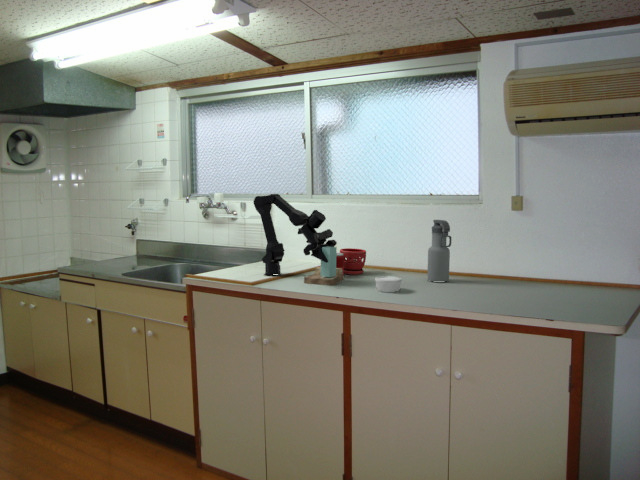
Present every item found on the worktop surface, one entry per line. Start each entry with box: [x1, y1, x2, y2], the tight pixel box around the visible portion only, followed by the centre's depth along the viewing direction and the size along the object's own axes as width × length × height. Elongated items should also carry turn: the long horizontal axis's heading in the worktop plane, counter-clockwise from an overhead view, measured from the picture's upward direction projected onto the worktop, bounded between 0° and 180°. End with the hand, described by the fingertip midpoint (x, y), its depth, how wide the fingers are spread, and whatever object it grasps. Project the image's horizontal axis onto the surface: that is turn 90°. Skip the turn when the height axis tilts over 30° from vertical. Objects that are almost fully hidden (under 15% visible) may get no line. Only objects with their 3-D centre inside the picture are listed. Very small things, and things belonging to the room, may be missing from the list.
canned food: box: [336, 252, 344, 275], centre depth 257 cm, size 8×8×11 cm
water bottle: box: [426, 219, 452, 282], centre depth 245 cm, size 10×10×28 cm
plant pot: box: [339, 247, 367, 276], centre depth 265 cm, size 13×13×12 cm
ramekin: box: [374, 275, 402, 293], centre depth 225 cm, size 11×11×5 cm
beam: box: [314, 266, 342, 276], centre depth 249 cm, size 12×4×3 cm, turn 68°
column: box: [320, 246, 338, 277], centre depth 240 cm, size 5×5×13 cm
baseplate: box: [303, 272, 345, 286], centre depth 244 cm, size 14×14×3 cm
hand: (330, 261), depth 239 cm, fingers closed on column, 5 cm apart
